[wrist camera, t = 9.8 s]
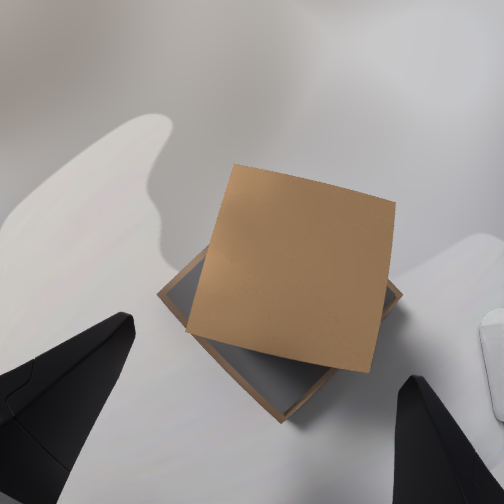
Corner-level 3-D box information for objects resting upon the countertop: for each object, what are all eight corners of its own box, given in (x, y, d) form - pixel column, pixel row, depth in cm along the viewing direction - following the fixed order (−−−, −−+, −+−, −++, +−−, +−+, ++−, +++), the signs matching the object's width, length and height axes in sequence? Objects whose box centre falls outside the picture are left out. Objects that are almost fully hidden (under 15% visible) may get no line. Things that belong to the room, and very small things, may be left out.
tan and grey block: (317, 353, 17) (368, 373, 8) (223, 331, 17) (185, 331, 9) (337, 261, 18) (395, 202, 9) (247, 240, 19) (234, 164, 10)
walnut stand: (279, 414, 18) (281, 425, 16) (167, 298, 20) (154, 293, 18) (390, 298, 20) (405, 294, 17) (280, 192, 22) (281, 176, 20)
